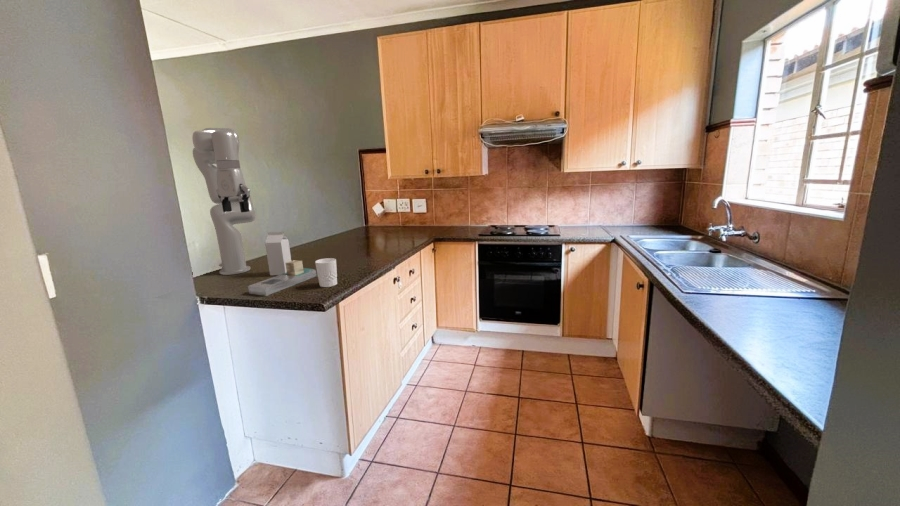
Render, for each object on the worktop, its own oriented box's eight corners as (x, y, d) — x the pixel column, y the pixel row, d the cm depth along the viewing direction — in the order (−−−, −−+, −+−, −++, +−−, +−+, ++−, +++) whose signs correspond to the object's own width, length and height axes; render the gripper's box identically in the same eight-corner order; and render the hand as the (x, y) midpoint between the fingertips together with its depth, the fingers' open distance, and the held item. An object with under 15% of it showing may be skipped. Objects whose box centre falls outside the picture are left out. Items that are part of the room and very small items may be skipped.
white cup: (342, 282, 148) (339, 258, 145) (331, 288, 140) (328, 263, 138) (325, 281, 150) (322, 257, 147) (313, 287, 142) (310, 262, 140)
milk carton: (285, 275, 160) (279, 233, 156) (270, 275, 161) (263, 233, 156) (292, 271, 167) (287, 230, 163) (277, 271, 168) (271, 230, 163)
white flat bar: (266, 295, 134) (264, 287, 133) (249, 293, 138) (247, 285, 137) (316, 276, 157) (315, 269, 157) (300, 274, 161) (300, 267, 160)
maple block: (288, 281, 152) (285, 262, 150) (296, 278, 156) (294, 260, 154) (296, 282, 150) (293, 263, 148) (304, 279, 154) (302, 260, 152)
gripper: (203, 166, 135) (211, 212, 139) (235, 165, 128) (243, 213, 132) (222, 166, 142) (230, 210, 146) (253, 165, 135) (260, 210, 139)
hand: (236, 211), depth 139 cm, fingers open, 9 cm apart
